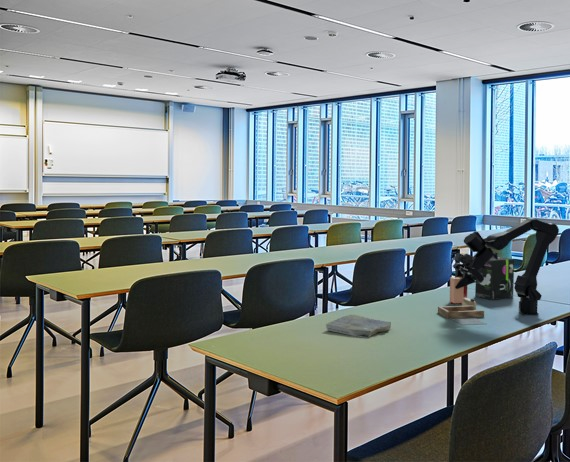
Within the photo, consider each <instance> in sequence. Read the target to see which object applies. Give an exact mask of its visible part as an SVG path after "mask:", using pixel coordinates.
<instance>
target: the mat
mask: <svg viewBox="0 0 570 462" xmlns="http://www.w3.org/2000/svg"><path fill="white" fill-rule="evenodd" d="M451 320H452V321H454V322H456V323H457V324H458V325H460V326H475V325H487V323H486V322H484V321H482V320H480V319H478V318H477V317H472V318H451Z"/></svg>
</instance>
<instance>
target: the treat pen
mask: <svg viewBox="0 0 570 462" xmlns="http://www.w3.org/2000/svg"><path fill="white" fill-rule="evenodd" d="M437 314H439V315H441V316H443V317H444V318H447V319H459V318H485V310H483V309H481V310H480V309H479V310H477V309H476V310H474V306H473V305H472V306H462V305H455V306H454V305H453V306H452V305H451V306H449V305H447V306H446V305H445V306H437Z"/></svg>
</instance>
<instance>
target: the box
mask: <svg viewBox="0 0 570 462" xmlns="http://www.w3.org/2000/svg"><path fill="white" fill-rule="evenodd" d="M479 272H480V273H481V274H482V275H483V276H484V280H483V281H482V283H479V282H477V279H476V280H475V281H476V283H475V287H474V288H475V292H474V294H475V297H478V298H483V299H487V300H491V301H496V300H503V299H504V300H505V299H512V298H514V287H515V284H514V283H515V282H514V281H515V280H514V279H515V259H514V258H508V257H503V256H498V259H497V260H496V259H494V258H491V259H490V260H489V261H488V262H487V263H486V265H485V268H484V269H483V268H482V269H481V270H480V271H479Z"/></svg>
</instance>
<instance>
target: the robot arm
mask: <svg viewBox="0 0 570 462" xmlns="http://www.w3.org/2000/svg"><path fill="white" fill-rule="evenodd" d="M532 230H533V231H534V232H535V240H536V242H535V244H534V248H533V250H532V253H531V255H530V258H529V260H528V263H527V265H526V267H525V270H524V272H523V274H522V275H520V274H519V275H516V279H515V282H514V286H513V290H514V291H515V292H516V295H517V297H518V298H520V300H519V301H518V312H519V313H520V314H522V315H535V316H536V315H539V314H540V313H538V302H539V301H541V299H542V294H541V293H540V292H539V291H538V290H537V287H538V279H537V277H538V274H539V271H540V269H541V267H542V264H543V261H544V258H545V256H546V253H547V250H548V248H549V246H550V245H551V244H552V243H553V242H554V241H555V240H556V239H557V237H558V235H559V232H560V229H559V227H558V225H557V224H555V223H551V222H545V221H541V220H539V219H537V218H532V217H531V218H530V217H529V218H526V219H525V220H523V221H521V222H519V223H517V224H515V225H514V226H512V227H510V228H508V229H506V230H504V231H502V232H496V233H493V234H490V235H488V236H487V237H485V238H483V236H482V235H481V234H480V232H479V231H473V232H472V233H469V234H468V235H466V236H465V237H464V239H463V243H464V245H465V246H466V247H467V248H469V250H470V251H471V252H473V253H475V254H474V255H473V256H472V255H471V254H468V253H465V254H462V253H459V252H457V253H456V254H455V256H454V257H453V260H454V261H456V262H455V263H454V264H453V265H452V268H453V269H454V270H455V276H454V277H462V278H461V280H460V281H459V282H458V284H457V285H456V287H455V288H456V289H459V288H461V287H464V286H466V285H467V286H468V285H472V284H476V279H477V282H479V283H482V281H483V280H484V276H483V275H482V274H481V273H480V272H479V271H480V270H481V269H482V268H483V269H484V268H485V265H486V263H487V262H488V261H489V260H490V259H491V258H494V259H496V260H497V259H498V257H499V256H498V252H495V251H502V250H504V249H505V248H506V247H507V246H509V244H510V243H511V242H512V241H513V240H515V239H517V238H518V237H521V236H522V235H524V234H526V233H528V232H530V231H532ZM493 250H495V251H493Z"/></svg>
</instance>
